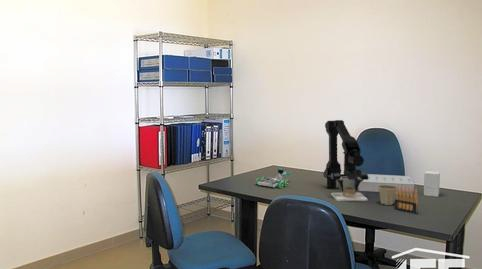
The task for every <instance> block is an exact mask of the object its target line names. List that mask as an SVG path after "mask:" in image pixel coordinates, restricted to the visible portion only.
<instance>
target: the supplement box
mask: <svg viewBox="0 0 482 269" xmlns="http://www.w3.org/2000/svg"><path fill="white" fill-rule="evenodd" d="M423 174H424V176H423V177H424V178H423V196H427V197H439V196H440V182H441V181H440V180H441V179H440V178H441V171H432V170H431V171H430V170H425V172H424V173H423Z"/></svg>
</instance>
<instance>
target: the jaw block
mask: <svg viewBox="0 0 482 269" xmlns="http://www.w3.org/2000/svg"><path fill="white" fill-rule="evenodd" d="M342 193H343V195H344V196H345V197H355V193H356V192H355V187H353V186H343V192H342Z"/></svg>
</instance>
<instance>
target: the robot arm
mask: <svg viewBox="0 0 482 269" xmlns="http://www.w3.org/2000/svg"><path fill="white" fill-rule="evenodd" d="M324 125H325V126H324V127H325V132H326V134H327V135H328V161H327V163H326V166H325V169H324V171H323V173H322V174H323V177H324V178H325V179H326V184H325V185H324V187H325V188H326V189H329V190H330V189H332V190H333V189H339V188H340V191H341V193H343V187H344V180H343V179H348V180H354V189H355V193H357V191H358V186H359V184H360V182H361V181H363V180H368V175H367V174H368V173H366V172H362V169H357V167H361V166H362V165H363V163H364V161H365V160H364V157H362V155H361V153H362V152H361V148H360V146H359V142H358V141H357V139H356V138H355V136H352V135H351V133H350V132H349V131H348V128H347V127H346V125H345V122H344V120H342V119H339V120H338V119H336V120H327V121H326V122H325V123H324ZM338 135H339V136H340V138H341V141H342V142H341V147H342V150H343V152H342V153H343V155H344V156H343V157H344V159H343V173H342V168H341V163H339V161H338ZM341 173H342V174H341ZM337 184H338V185H339V187H338V186H337Z"/></svg>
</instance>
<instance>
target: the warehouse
mask: <svg viewBox="0 0 482 269" xmlns="http://www.w3.org/2000/svg"><path fill="white" fill-rule="evenodd" d="M366 174H367V175H368V180H363V181H361V182H360V184H359V186H358V188H357V191H359V192H361V191H362V192H375V193H376V192H377V193H379V188H378V186H379V185H392V186H396V187H397V185H398V186H399V194H400V187H401V186H402V189H403V192H404V187H406V194H407V189H408V187H409V188H410V195H411V189H412V187H413V191H414V192H415V187H416V185H415V182H414V180H413V178H412V175H398V174H397V175H395V174H394V175H393V174H392V175H391V174H375V173H374V174H371V173H366ZM395 194H396V192H395Z"/></svg>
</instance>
